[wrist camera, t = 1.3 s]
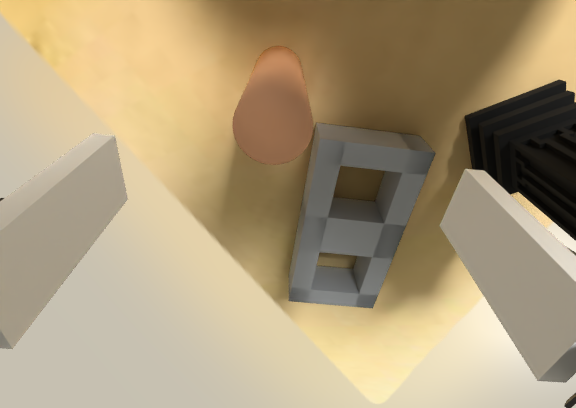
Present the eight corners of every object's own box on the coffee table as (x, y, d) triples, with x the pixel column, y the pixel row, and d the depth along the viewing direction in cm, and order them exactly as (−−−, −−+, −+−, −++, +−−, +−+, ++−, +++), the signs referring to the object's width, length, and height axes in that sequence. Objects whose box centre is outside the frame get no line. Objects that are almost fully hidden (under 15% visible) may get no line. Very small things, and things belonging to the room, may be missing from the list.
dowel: (257, 42, 27) (234, 80, 15) (305, 49, 27) (319, 92, 15) (253, 92, 29) (231, 160, 17) (298, 98, 29) (306, 168, 17)
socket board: (316, 122, 30) (320, 138, 27) (419, 135, 31) (435, 152, 28) (288, 275, 41) (288, 301, 38) (365, 282, 42) (372, 308, 39)
